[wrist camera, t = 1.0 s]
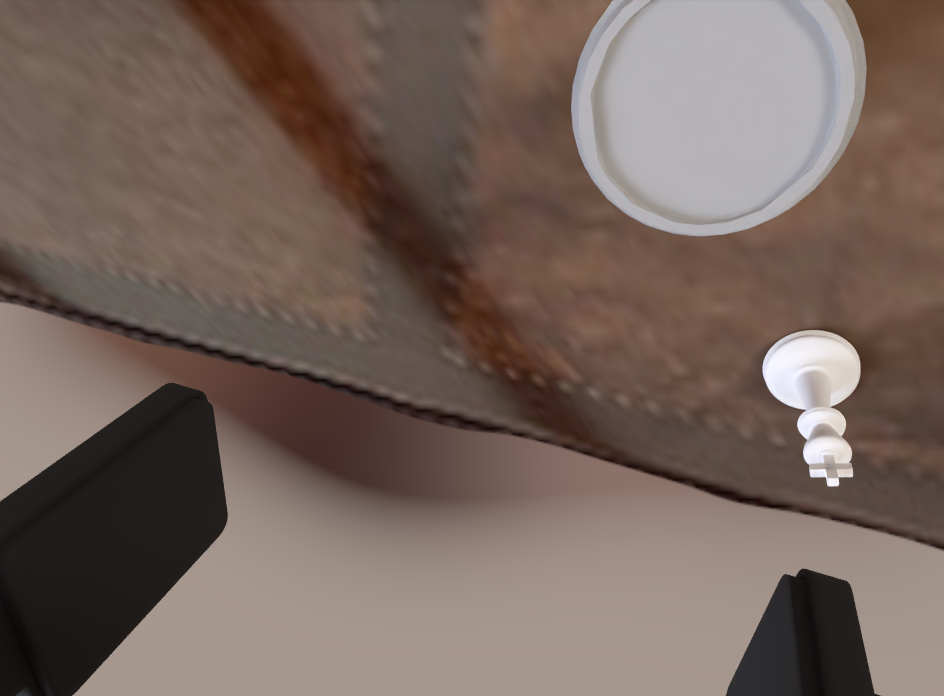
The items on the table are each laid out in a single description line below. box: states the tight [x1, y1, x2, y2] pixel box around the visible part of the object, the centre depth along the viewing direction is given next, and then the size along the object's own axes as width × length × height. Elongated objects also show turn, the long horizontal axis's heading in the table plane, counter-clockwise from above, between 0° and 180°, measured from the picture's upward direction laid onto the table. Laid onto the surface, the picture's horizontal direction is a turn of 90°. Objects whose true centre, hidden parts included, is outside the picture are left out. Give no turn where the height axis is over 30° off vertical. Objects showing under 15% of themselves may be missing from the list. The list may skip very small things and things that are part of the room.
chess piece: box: [763, 330, 860, 486], centre depth 33 cm, size 5×5×10 cm
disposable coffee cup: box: [571, 0, 867, 236], centre depth 27 cm, size 10×10×12 cm
